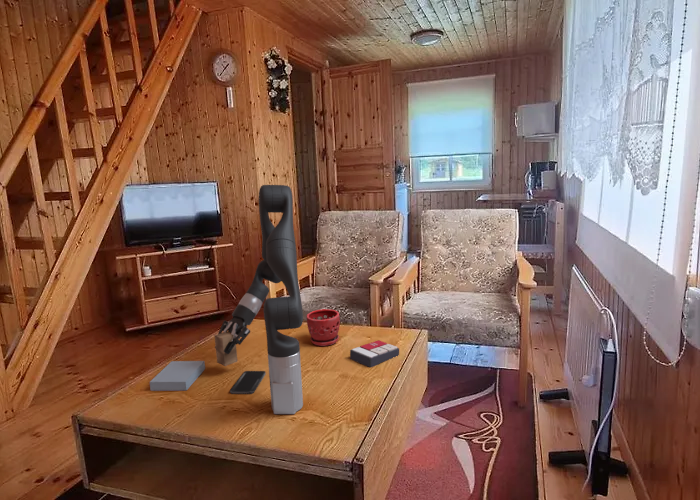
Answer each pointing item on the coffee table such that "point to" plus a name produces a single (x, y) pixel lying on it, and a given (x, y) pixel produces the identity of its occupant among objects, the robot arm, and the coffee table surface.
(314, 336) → the plant pot
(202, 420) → the coffee table surface
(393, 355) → the calculator
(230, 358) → the walnut block
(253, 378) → the phone
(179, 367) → the base board
